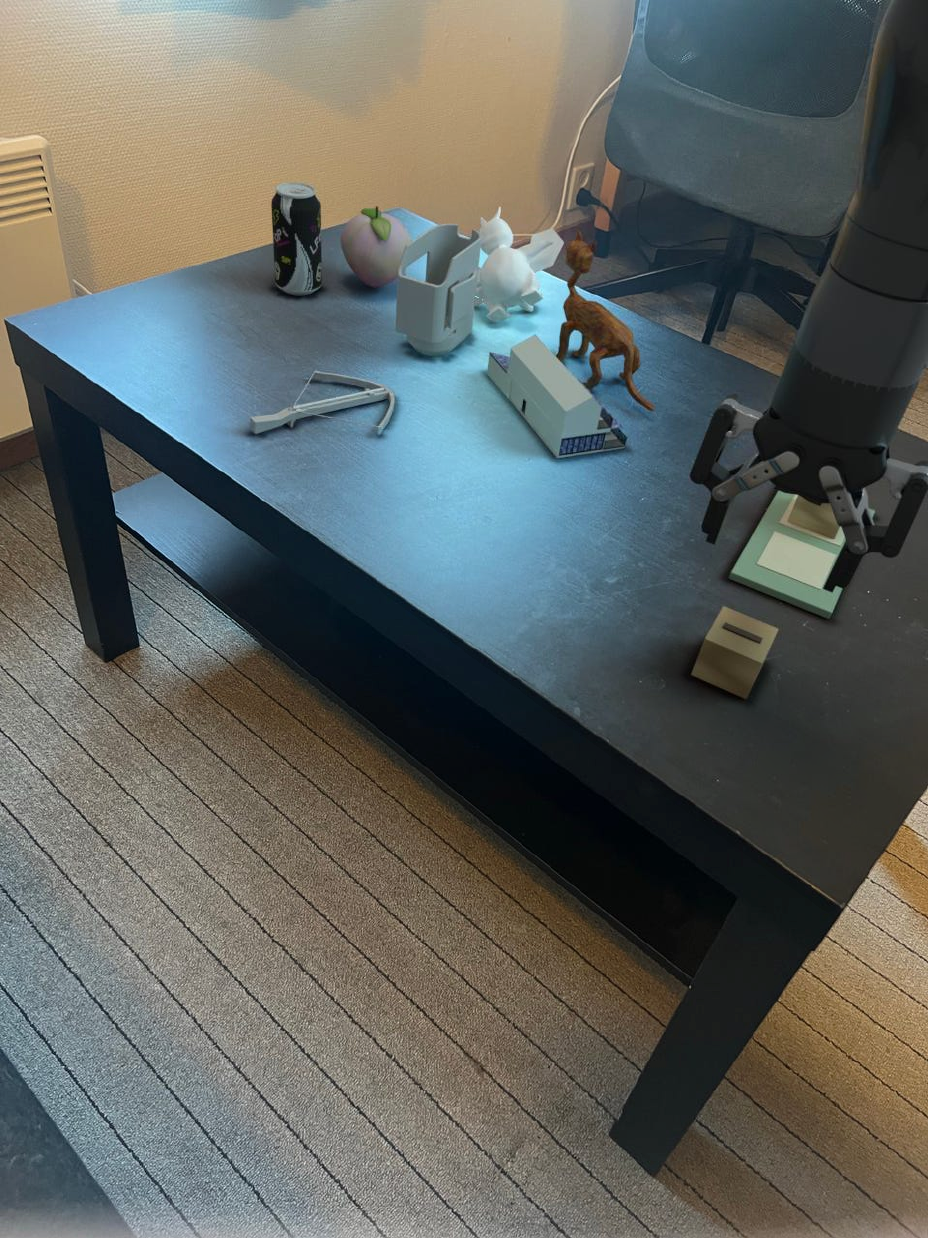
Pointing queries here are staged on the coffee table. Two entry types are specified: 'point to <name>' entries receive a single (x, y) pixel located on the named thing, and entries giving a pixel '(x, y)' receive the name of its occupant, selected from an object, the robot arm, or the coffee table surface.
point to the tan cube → (734, 652)
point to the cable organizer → (438, 290)
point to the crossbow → (328, 404)
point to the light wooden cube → (814, 517)
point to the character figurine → (512, 268)
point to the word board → (790, 560)
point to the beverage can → (297, 238)
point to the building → (554, 401)
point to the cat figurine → (596, 326)
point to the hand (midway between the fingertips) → (771, 561)
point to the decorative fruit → (374, 246)
